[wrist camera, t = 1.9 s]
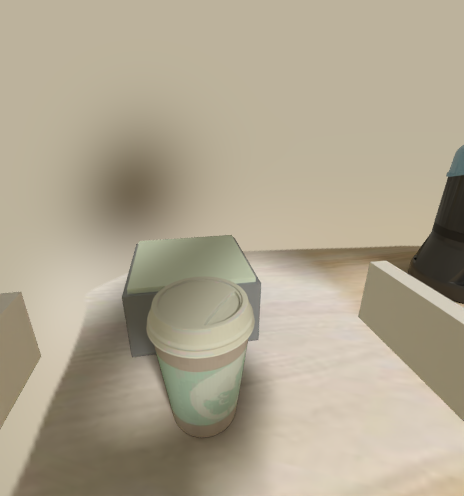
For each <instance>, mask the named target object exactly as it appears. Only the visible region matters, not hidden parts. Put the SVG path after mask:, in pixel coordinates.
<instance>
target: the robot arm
mask: <svg viewBox="0 0 464 496" xmlns="http://www.w3.org/2000/svg"><path fill="white" fill-rule="evenodd" d="M447 176H448V179H447V183H446V186H445V189H444V192H443V195H442V199H441V202H440V205H439V209H438V212H437V215H436V218H435V222H434V225H433V229H432V232H431V234H430V235H429V237H428V238H427V239H426V241H425V242H424V243H423V245H422V246H421V248H420V249H419V251H418V252H417V254H416V255H415V256H414V257H413V258H412V260H411V263H410V267H409V271H408V273H409V274H407V273H406V272H404V271H402V270H401V269H399V268H397V267H396V266H394V265H393V264H391V263H389V262H388V261H376V262H370V265H369V269H368V274H367V279H366V283H365V288H364V293H363V297H362V302H361V307H360V312H359V316H358V317H359V318H360V319H361V320H362V321H363V322H364V323H365V324H366V325H367V326H368V327H369V328H370V329H371V330H372V331H373V332H374V333H375V334H376V335H377V336H378V337H379V338H380V339H381V340H382V341H383V342H384V343H385V344H386V345H387V346H388V347H389V348H390V349H391V350H392V351H394V352H395V353H396V354H397V355H398V356H399V357H400V358H401V359H402V360H403V361H404V362H405V363H406V364H407V365H408V366H409V367H410V368H411V369H412V370H413V371H414V372H415V373H416V374H417V375H418V376H419V377H420V378H421V379H422V380H423V381H424V382H425V383H426V384H427V385H428V386H429V387H430V388H431V389H432V390H433V391H434V392H435V393H436V394H437V395H438V396H439V397H440V398H441V399H442V400H443V401H444V402H445V403H446V404H447V405H448V406H449V407H450V408H451V409H452V410H453V411H454V412H455V413H456V414H457V415H458V416H459V417H460V418H461V419H462V420H463V421H464V308H463V307H461V306H460V305H458V304H457V303H455V302H453V301H452V300H454V301H457V302H461V303H464V145H463V146H462V147H460V148H459V149H458V151H457V152H456V154H455V156H454V159H453V162H452V165H451V167H450V170H449V172H448V173H447ZM450 299H451V300H450ZM40 357H41V354H40V351H39V348H38V344H37V341H36V338H35V335H34V332H33V329H32V325H31V322H30V319H29V316H28V313H27V309H26V306H25V303H24V300H23V297H22V293H21V292H14V293H3V294H0V428H1V427H2V425H3V423H4V421H5V420H6V418H7V416H8V414H9V412H10V411H11V409H12V407H13V405H14V404H15V402H16V400H17V398H18V396H19V395H20V393H21V391H22V389H23V388H24V386H25V384H26V382H27V380H28V379H29V377H30V375H31V373H32V371H33V370H34V368H35V366H36V364H37V363H38V361H39V359H40Z"/></svg>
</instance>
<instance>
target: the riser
mask: <svg viewBox="0 0 464 496" xmlns="http://www.w3.org/2000/svg"><path fill="white" fill-rule="evenodd" d="M204 276H206V277H217V278H222V279H226V280H229V281H231V282H233V283H235V284H237V285H239V286H240V287H241V288H242V289H243V290H244V291H245V292H246V294H247V297H248V300H249V303H250V304H251V306H252V309H253V315H254V319H255V324H254V329H253V331H252V333H251V335H250V336H249V338H248V341H253V340H258V336H259V315H260V295H261V282H260V281H259V279H258V277H257V276H256V274H255V272H254V271H253V269H252V267H251V265H250V264H249V262H248V260H247V259H246V257H245V255H244V254H243V252H242V250H241V249H240V247H239V245H238V243H237V242H236V240H235V238H234V237H232V235H225V236H210V237H196V238H181V239H165V240H152V241H139V244H136V248H135V252H134V256H133V259H132V263H131V266H130V270H129V274H128V277H127V281H126V284H125V288H124V292H123V295H122V301H123V306H124V312H125V318H126V324H127V330H128V336H129V342H130V348H131V354H132V357H136V356H144V355H151V354H156V350H155V346H154V344H153V343H152V342H151V341H150V339H149V337H148V335H147V330H146V326H147V317H148V313H149V311H150V309H151V305H152V301H153V298H154V297H155V295H156V294H157V293H158V292H159V291H160V290H161V289H162V288H164V287H165V286H167V285H169V284H171V283H173V282H176V281H179V280H182V279H186V278H191V277H204Z"/></svg>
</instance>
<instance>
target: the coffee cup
mask: <svg viewBox="0 0 464 496" xmlns="http://www.w3.org/2000/svg"><path fill="white" fill-rule="evenodd" d="M254 324H255V319H254V315H253V309H252V306H251V304H250V303H249V300H248V297H247V294H246V292H245V291H244V290H243V289H242V288H241V287H240V286H239V285H237V284H235V283H233V282H231V281H229V280H226V279H222V278H217V277H206V276H204V277H191V278H186V279H182V280H179V281H176V282H173V283H171V284H169V285H167V286H165V287H164V288H162V289H161V290H160V291H159V292H158V293H157V294H156V295H155V297H154V298H153V301H152V305H151V309H150V311H149V313H148V317H147V326H146V330H147V335H148V337H149V339H150V341H151V342H152V343H153V344H154V346H155V350H156V354H157V357H158V361H159V364H160V368H161V371H162V375H163V379H164V382H165V386H166V389H167V393H168V396H169V400H170V404H171V407H172V410H173V414H174V417H175V420H176V423H177V424H178V426H179V427H180V428H181V429H182V430H183V431H184V432H185V433H187V434H189V435H191V436H195V437H211V436H214V435H217V434H219V433H220V432H222V431H223V430H225V429H226V428H227V427H228V426H229V425H230V423H231V422H232V420H233V418H234V416H235V412H236V407H237V401H238V396H239V390H240V384H241V378H242V372H243V367H244V361H245V355H246V349H247V343H248V338H249V336H250V335H251V333H252V331H253V329H254Z"/></svg>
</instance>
